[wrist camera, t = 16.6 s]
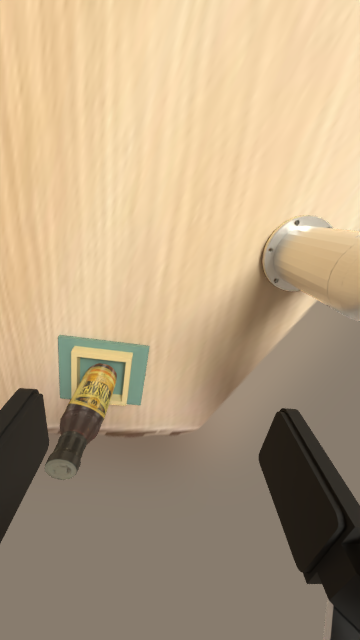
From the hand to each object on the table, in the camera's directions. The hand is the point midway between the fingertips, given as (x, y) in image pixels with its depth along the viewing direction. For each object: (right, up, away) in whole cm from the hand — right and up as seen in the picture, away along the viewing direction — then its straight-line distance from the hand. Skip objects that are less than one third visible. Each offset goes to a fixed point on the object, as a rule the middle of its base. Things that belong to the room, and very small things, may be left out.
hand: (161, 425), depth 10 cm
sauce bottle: (-15, -7, +38) cm, 42 cm away
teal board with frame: (-15, -6, +39) cm, 42 cm away
